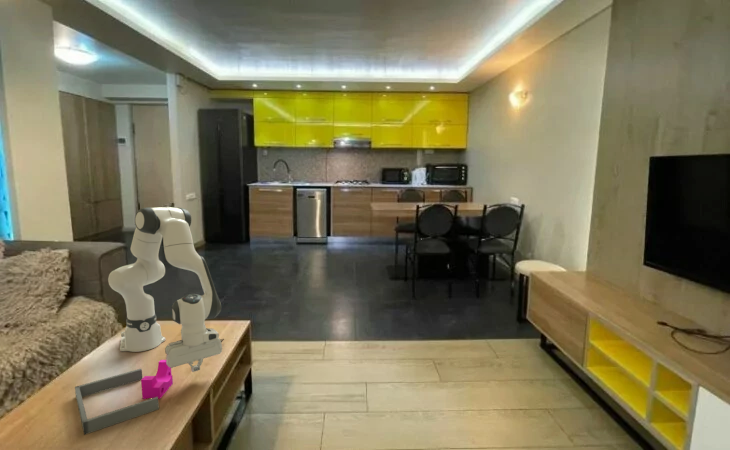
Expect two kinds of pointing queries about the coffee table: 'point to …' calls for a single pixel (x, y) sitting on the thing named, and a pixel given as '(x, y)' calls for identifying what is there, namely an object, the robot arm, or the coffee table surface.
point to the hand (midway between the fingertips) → (195, 370)
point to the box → (116, 415)
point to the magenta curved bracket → (157, 382)
